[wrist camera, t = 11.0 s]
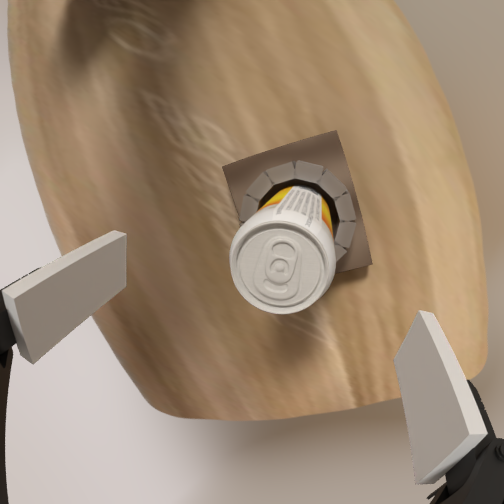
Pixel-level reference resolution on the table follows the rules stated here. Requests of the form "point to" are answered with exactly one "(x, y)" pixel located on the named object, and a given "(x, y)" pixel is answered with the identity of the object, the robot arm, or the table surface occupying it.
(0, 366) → the robot arm
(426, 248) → the table surface
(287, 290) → the beer can
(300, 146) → the cup holder
